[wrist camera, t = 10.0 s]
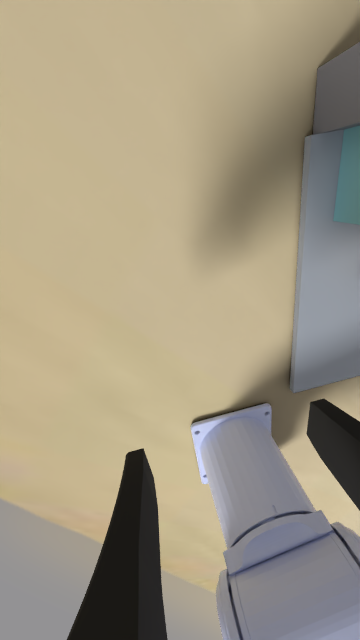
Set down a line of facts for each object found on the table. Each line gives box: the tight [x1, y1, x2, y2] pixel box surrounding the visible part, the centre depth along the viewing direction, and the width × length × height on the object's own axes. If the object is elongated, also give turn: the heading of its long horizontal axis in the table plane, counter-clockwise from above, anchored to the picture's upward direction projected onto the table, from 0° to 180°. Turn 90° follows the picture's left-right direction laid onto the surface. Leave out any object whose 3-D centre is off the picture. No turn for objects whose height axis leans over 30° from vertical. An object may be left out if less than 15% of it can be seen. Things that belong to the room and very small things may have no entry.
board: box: [290, 129, 360, 393], centre depth 20 cm, size 20×10×1 cm, turn 9°
